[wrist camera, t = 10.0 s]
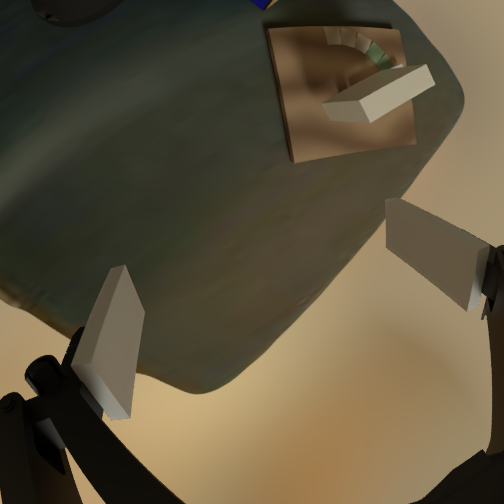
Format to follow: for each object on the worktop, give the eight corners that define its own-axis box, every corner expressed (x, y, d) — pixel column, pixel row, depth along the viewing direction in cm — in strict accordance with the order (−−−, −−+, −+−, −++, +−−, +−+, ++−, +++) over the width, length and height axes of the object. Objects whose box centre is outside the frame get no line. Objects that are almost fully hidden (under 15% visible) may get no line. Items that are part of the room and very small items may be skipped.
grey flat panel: (394, 59, 34) (453, 50, 24) (401, 74, 36) (461, 69, 25) (311, 104, 36) (359, 100, 25) (320, 120, 37) (370, 123, 26)
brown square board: (265, 31, 32) (268, 28, 31) (393, 31, 34) (399, 29, 33) (291, 161, 40) (294, 163, 38) (410, 142, 42) (417, 144, 40)
